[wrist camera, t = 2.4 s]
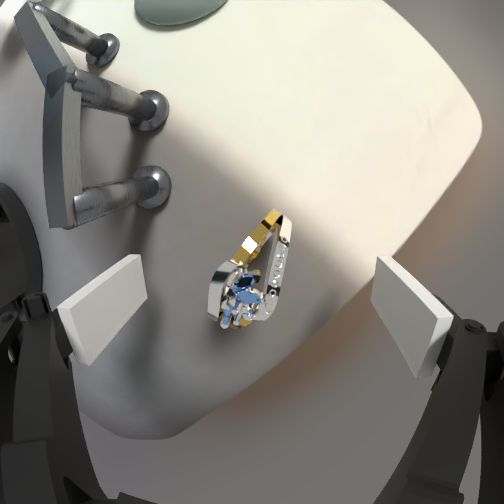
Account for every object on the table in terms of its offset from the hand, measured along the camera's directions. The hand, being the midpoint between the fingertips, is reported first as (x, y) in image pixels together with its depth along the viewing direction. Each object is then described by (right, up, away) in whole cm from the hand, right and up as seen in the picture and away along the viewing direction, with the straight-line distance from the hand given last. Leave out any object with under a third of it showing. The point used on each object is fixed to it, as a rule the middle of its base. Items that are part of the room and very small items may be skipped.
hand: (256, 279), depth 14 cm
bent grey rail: (-10, +12, +2) cm, 15 cm away
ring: (0, +2, +5) cm, 5 cm away
